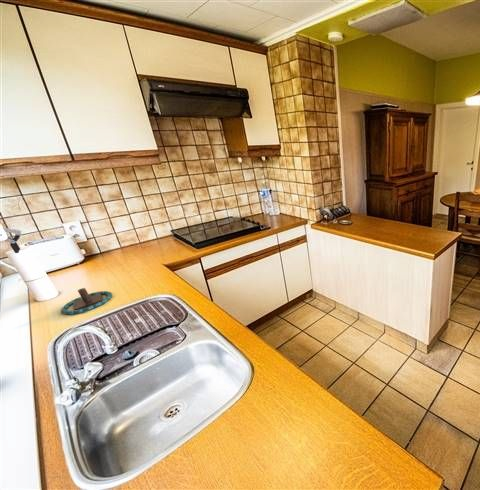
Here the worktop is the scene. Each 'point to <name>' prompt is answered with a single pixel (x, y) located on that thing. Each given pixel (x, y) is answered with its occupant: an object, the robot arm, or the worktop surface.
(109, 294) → the ring
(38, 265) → the cylindrical container
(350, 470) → the worktop surface
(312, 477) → the worktop surface
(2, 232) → the robot arm
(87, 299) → the stand
